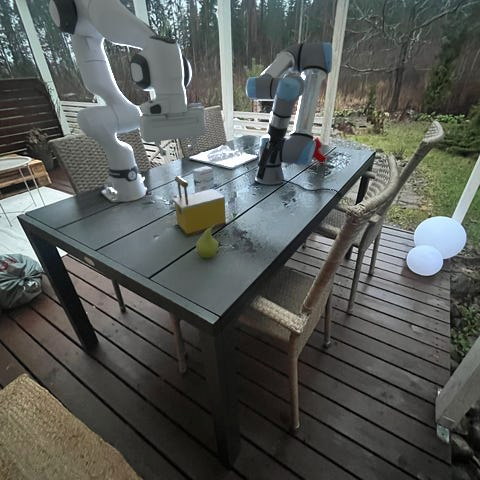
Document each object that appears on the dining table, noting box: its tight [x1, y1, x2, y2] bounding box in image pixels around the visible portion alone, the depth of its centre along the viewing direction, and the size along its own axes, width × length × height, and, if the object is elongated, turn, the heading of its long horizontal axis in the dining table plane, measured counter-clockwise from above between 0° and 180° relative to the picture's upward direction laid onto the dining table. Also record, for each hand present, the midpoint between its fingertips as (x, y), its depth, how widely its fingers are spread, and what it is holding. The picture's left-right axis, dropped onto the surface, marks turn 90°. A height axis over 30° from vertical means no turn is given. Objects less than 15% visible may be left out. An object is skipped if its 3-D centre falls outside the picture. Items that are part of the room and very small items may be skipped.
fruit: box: [195, 221, 219, 259], centre depth 84 cm, size 7×8×12 cm
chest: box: [174, 198, 227, 238], centre depth 101 cm, size 16×9×11 cm, turn 123°
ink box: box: [192, 165, 215, 193], centre depth 128 cm, size 8×5×12 cm, turn 135°
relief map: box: [189, 144, 258, 170], centre depth 177 cm, size 27×35×5 cm
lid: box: [171, 175, 226, 210], centre depth 96 cm, size 17×9×9 cm, turn 123°
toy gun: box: [312, 136, 327, 165], centre depth 168 cm, size 18×4×15 cm
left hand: (177, 153), depth 86 cm, fingers open, 8 cm apart
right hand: (266, 170), depth 119 cm, fingers open, 13 cm apart
